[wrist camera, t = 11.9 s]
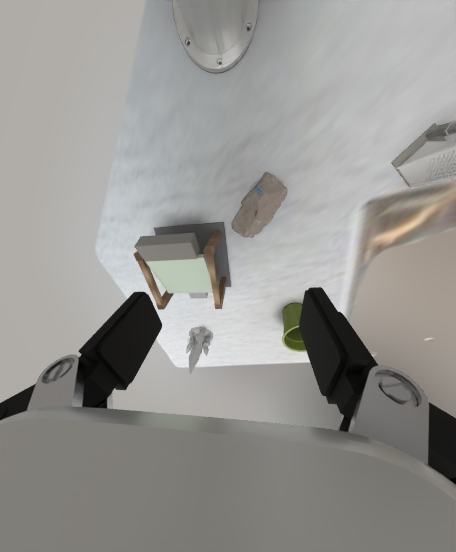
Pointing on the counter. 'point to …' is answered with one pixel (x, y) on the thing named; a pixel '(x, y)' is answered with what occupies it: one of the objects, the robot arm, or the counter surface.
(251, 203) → the concrete fragment
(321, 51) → the counter surface
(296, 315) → the plant pot
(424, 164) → the skyscraper
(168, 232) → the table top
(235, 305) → the counter surface
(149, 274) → the frame
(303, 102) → the counter surface
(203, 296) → the stone block
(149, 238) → the trapdoor
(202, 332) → the crystal
